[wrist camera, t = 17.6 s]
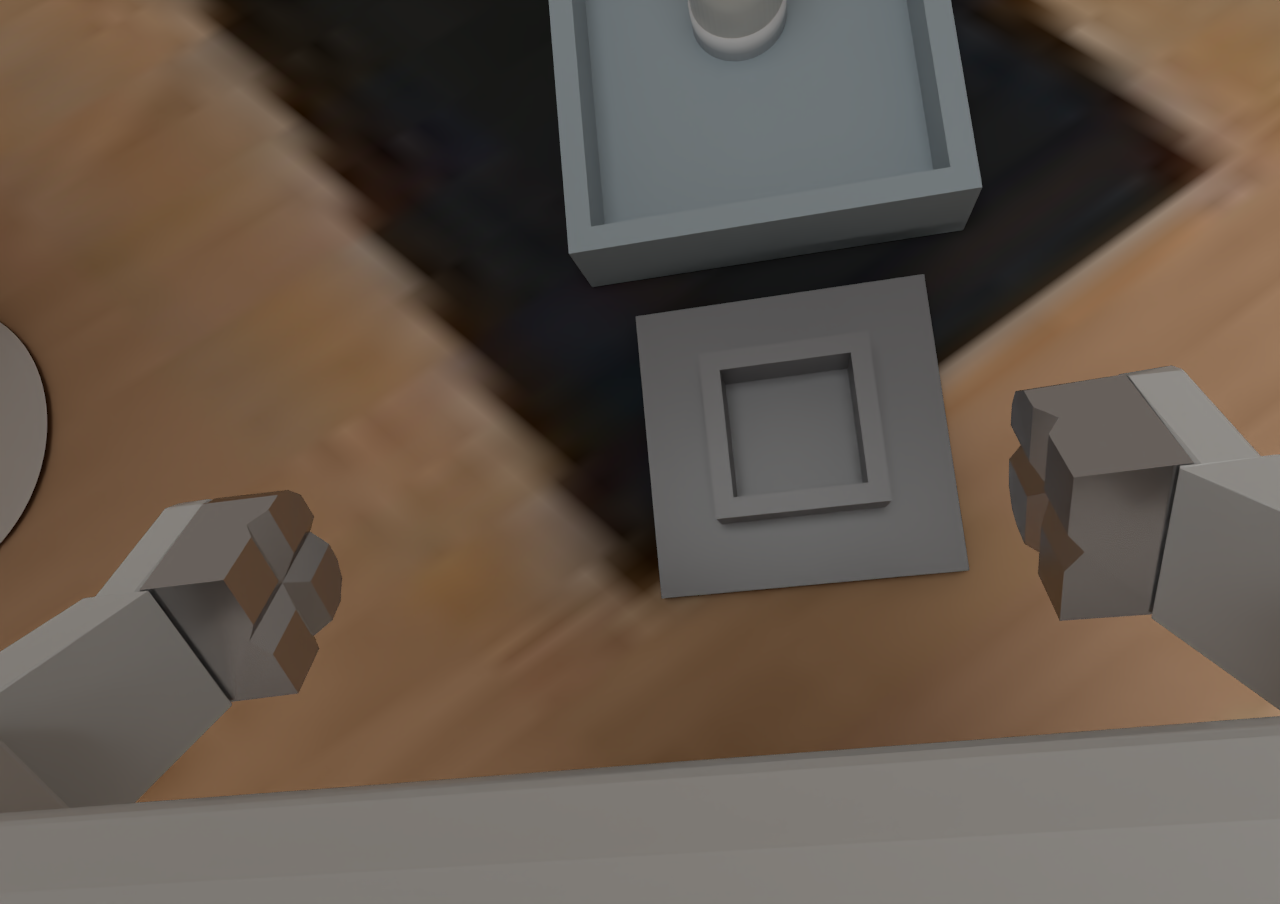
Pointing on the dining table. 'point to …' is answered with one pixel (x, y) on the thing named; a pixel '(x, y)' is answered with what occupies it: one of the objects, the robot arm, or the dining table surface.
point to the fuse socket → (799, 441)
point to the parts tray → (757, 135)
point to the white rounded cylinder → (737, 26)
